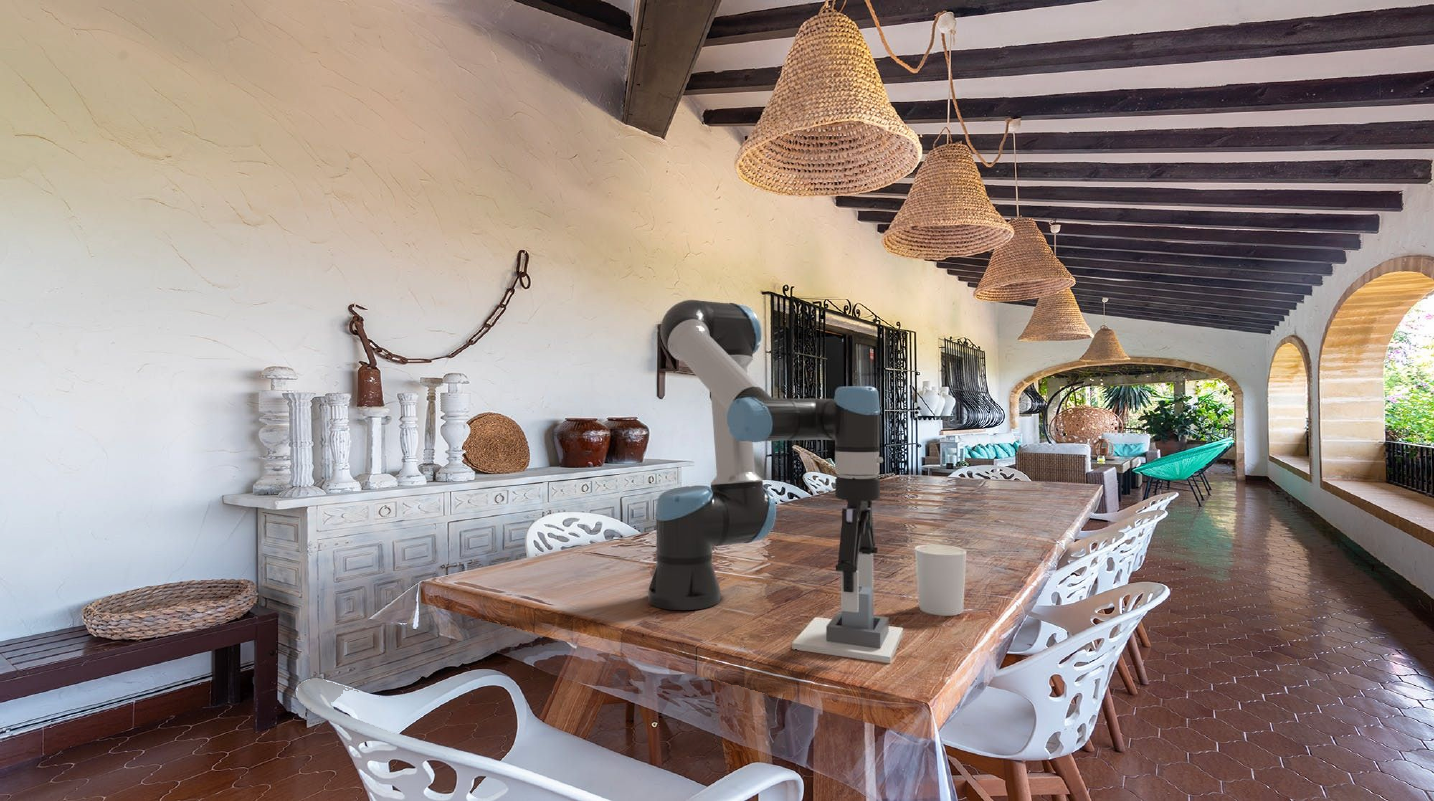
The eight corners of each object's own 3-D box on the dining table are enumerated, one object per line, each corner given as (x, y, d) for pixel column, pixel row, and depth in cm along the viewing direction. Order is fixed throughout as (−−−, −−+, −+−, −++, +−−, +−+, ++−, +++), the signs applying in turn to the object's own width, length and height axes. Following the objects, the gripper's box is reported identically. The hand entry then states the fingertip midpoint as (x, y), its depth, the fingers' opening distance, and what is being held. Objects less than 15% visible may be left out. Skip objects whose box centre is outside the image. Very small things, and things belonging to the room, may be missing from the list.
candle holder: (908, 611, 130) (908, 550, 131) (923, 600, 139) (922, 542, 139) (960, 620, 125) (959, 556, 125) (972, 607, 133) (971, 547, 133)
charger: (842, 638, 112) (841, 589, 112) (847, 630, 116) (847, 583, 116) (868, 642, 110) (868, 592, 110) (873, 634, 114) (873, 586, 115)
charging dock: (792, 649, 110) (792, 628, 110) (815, 622, 124) (815, 603, 124) (890, 663, 104) (890, 641, 104) (903, 633, 118) (903, 613, 118)
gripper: (865, 484, 101) (866, 624, 100) (890, 470, 124) (891, 584, 123) (817, 482, 104) (818, 618, 103) (850, 469, 127) (851, 580, 126)
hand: (858, 600), depth 113 cm, fingers open, 13 cm apart
